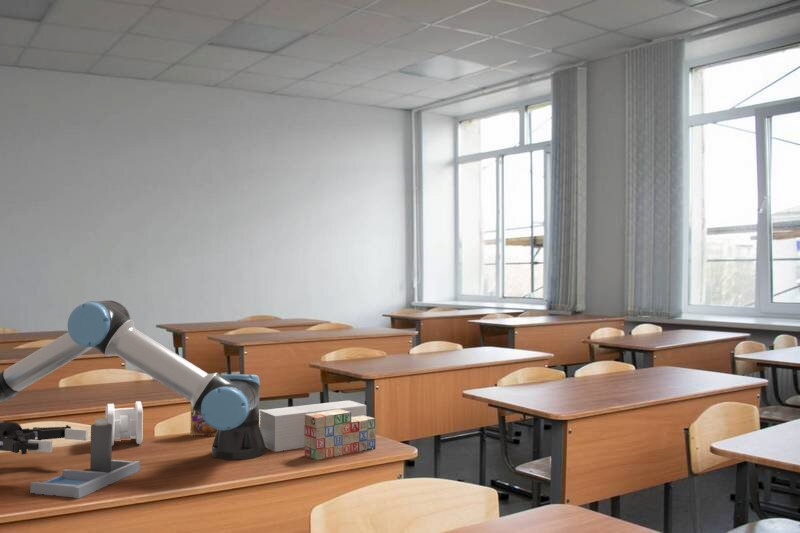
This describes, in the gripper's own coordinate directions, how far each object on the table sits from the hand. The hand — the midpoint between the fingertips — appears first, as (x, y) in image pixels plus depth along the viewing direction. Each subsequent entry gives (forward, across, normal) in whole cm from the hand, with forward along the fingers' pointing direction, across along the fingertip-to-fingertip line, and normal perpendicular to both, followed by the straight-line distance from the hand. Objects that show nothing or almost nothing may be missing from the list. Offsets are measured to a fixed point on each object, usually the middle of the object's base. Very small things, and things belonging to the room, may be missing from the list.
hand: (69, 440), depth 185 cm
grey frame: (+9, +6, -8) cm, 14 cm away
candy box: (+12, -49, -9) cm, 51 cm away
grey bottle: (+9, 0, -8) cm, 13 cm away
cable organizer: (-7, -33, -9) cm, 35 cm away
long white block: (+49, -50, -9) cm, 71 cm away
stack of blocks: (+62, -39, -9) cm, 73 cm away
